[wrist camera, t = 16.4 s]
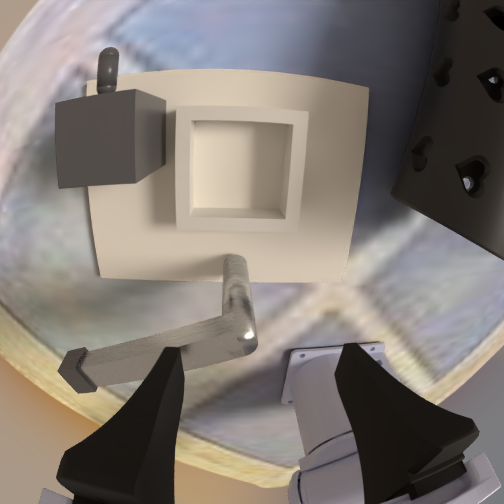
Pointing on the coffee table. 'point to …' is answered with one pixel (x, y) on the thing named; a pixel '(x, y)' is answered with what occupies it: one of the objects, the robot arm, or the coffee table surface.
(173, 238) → the socket base
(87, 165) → the plug
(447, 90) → the muzzle brake
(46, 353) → the coffee table surface
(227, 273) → the clip
